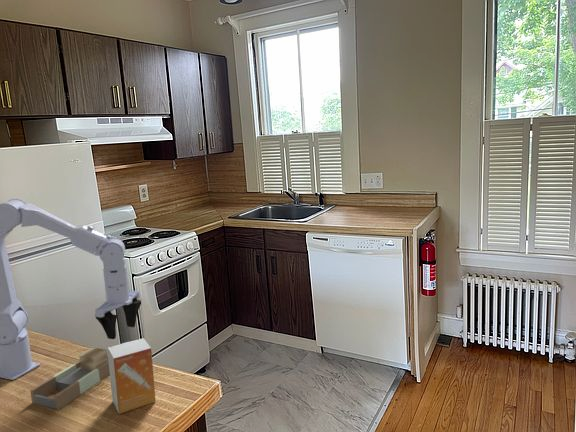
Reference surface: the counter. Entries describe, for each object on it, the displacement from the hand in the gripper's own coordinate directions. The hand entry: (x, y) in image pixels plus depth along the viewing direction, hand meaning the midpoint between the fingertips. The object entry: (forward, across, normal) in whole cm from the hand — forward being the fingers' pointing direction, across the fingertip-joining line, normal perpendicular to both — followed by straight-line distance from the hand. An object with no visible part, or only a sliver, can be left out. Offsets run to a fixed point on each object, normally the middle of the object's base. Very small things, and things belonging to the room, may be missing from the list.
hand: (121, 332), depth 119 cm
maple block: (+4, -10, 0) cm, 11 cm away
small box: (+7, -18, -18) cm, 26 cm away
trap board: (+6, -16, 0) cm, 17 cm away
